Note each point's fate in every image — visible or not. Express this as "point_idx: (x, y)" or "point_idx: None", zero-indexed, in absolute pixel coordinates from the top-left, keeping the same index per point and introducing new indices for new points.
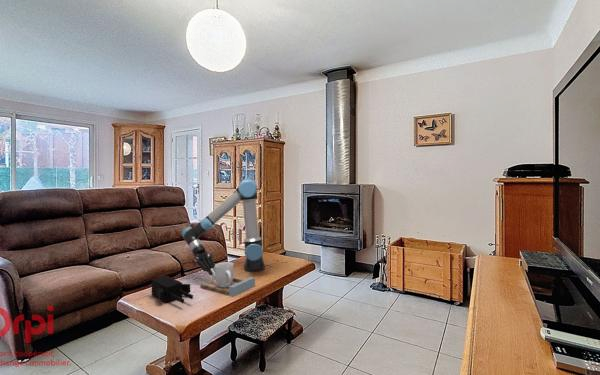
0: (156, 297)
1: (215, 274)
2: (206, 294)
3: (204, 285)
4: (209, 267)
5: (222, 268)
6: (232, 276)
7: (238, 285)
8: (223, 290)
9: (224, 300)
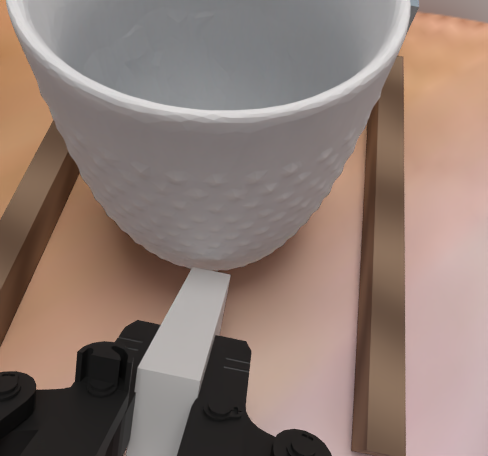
0: None
1: (335, 177)
2: (477, 247)
3: (396, 367)
4: (190, 422)
5: None
6: (202, 48)
7: None
8: (398, 98)
9: (471, 64)
